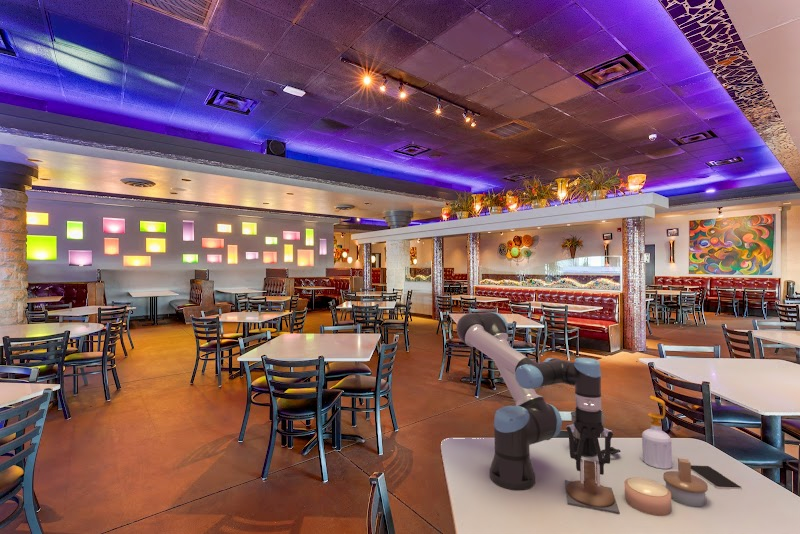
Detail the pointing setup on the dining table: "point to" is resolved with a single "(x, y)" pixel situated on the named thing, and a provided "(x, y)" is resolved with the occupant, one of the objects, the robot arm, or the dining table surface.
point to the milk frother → (587, 442)
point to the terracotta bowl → (648, 496)
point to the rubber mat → (608, 509)
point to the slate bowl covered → (685, 485)
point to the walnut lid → (590, 489)
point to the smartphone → (714, 477)
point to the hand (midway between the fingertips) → (590, 482)
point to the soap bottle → (657, 442)
